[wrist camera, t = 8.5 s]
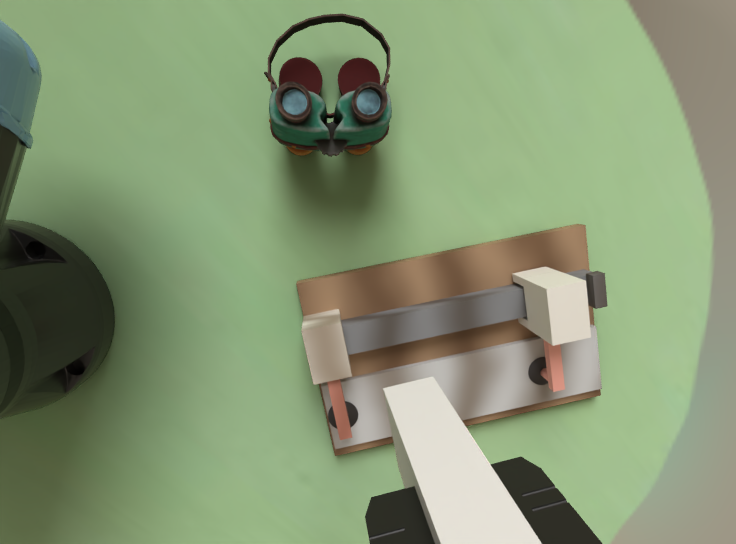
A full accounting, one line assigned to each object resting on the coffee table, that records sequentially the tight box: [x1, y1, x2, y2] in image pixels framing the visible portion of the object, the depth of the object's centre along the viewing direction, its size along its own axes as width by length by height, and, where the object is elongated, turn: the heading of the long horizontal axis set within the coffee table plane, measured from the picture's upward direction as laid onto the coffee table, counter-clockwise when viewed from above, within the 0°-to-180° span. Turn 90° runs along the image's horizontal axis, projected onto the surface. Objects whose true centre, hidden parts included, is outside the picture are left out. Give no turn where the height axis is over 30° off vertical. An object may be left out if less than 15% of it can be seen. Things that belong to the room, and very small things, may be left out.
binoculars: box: [264, 14, 392, 157], centre depth 31 cm, size 9×10×10 cm
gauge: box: [296, 224, 607, 456], centre depth 38 cm, size 25×16×5 cm, turn 101°
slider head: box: [512, 267, 591, 392], centre depth 37 cm, size 3×10×6 cm, turn 11°
